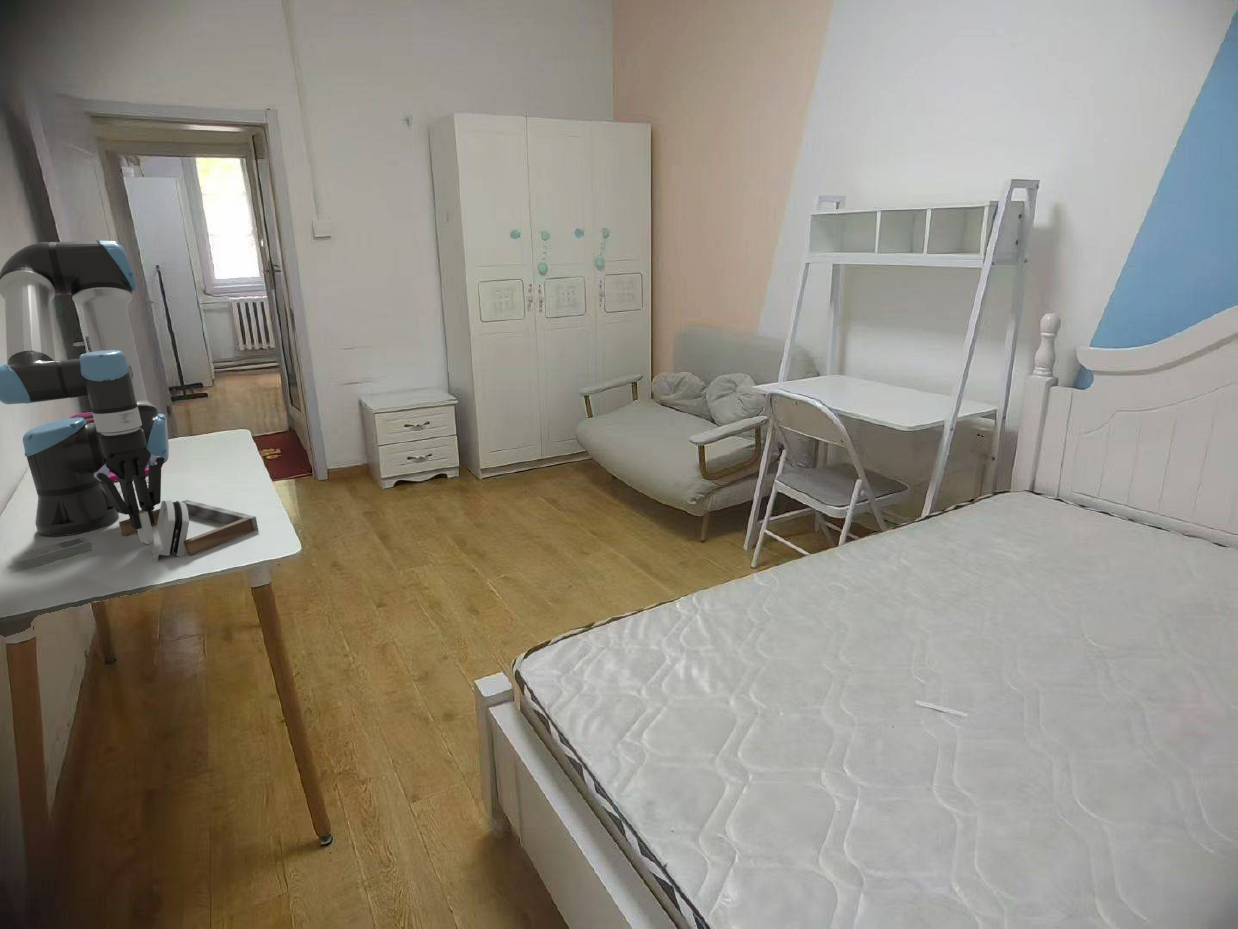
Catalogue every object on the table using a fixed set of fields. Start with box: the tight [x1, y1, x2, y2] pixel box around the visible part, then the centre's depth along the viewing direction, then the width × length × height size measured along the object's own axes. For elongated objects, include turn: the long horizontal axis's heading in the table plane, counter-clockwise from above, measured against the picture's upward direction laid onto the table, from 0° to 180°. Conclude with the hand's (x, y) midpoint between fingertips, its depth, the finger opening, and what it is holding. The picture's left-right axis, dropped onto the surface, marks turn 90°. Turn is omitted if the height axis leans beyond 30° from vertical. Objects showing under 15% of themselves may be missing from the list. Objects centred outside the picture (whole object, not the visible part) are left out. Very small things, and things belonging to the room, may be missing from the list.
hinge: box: [149, 499, 190, 563], centre depth 152 cm, size 17×5×10 cm, turn 35°
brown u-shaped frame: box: [118, 499, 259, 557], centre depth 159 cm, size 25×15×3 cm, turn 61°
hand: (147, 541), depth 151 cm, fingers closed
